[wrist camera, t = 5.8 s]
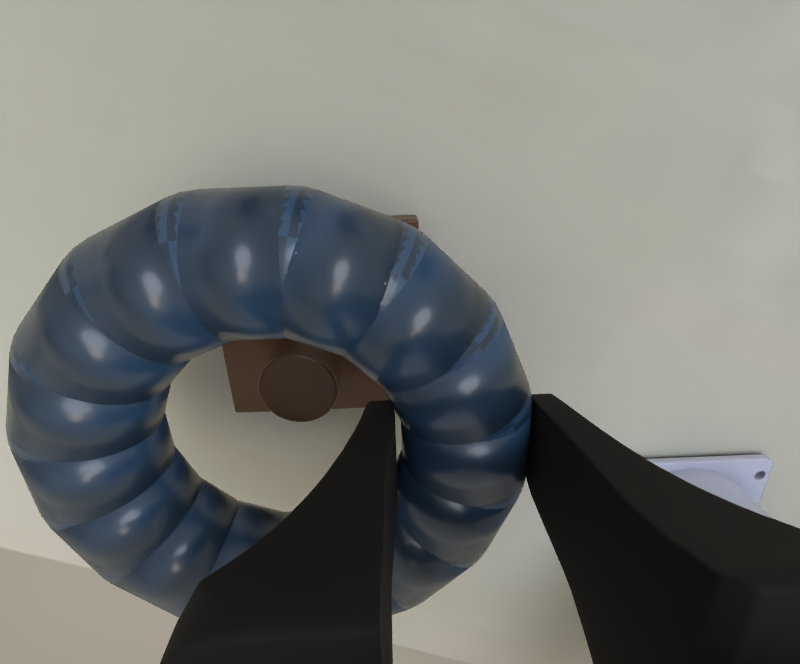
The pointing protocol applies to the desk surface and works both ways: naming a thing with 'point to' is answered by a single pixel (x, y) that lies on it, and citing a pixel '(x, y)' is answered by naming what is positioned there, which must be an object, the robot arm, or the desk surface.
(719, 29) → the desk surface
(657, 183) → the desk surface
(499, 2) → the desk surface
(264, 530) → the ring
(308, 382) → the peg stand
